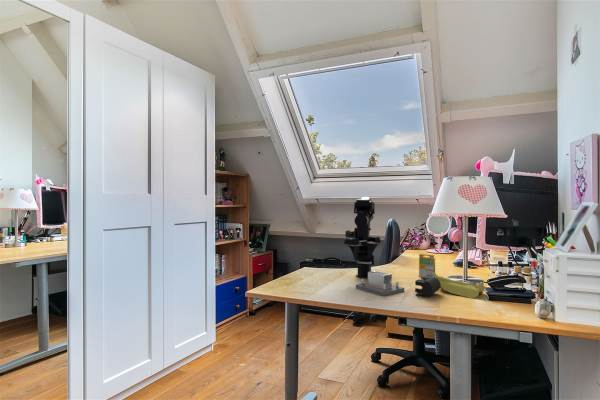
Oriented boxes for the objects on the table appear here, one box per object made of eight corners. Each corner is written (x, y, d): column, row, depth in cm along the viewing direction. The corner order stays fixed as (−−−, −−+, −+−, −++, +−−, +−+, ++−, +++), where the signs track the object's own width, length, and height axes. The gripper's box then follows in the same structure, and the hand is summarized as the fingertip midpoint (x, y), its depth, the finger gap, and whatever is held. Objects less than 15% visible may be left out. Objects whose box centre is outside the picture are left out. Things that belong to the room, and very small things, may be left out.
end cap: (431, 299, 144) (432, 282, 144) (414, 295, 149) (414, 279, 149) (440, 294, 152) (441, 277, 152) (424, 291, 156) (424, 275, 156)
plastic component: (485, 288, 154) (480, 281, 146) (481, 305, 151) (477, 299, 144) (438, 277, 166) (431, 270, 159) (434, 293, 164) (427, 287, 157)
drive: (375, 283, 163) (375, 270, 163) (391, 287, 156) (391, 273, 156) (367, 284, 160) (367, 271, 160) (383, 288, 153) (384, 275, 153)
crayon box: (435, 277, 183) (435, 254, 183) (433, 278, 180) (434, 255, 180) (420, 275, 187) (420, 253, 187) (418, 277, 184) (419, 254, 184)
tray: (375, 284, 168) (375, 275, 168) (404, 291, 155) (404, 282, 155) (355, 288, 160) (355, 279, 160) (384, 296, 148) (384, 286, 148)
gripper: (363, 223, 183) (363, 255, 183) (336, 225, 172) (336, 258, 172) (381, 225, 174) (380, 258, 175) (353, 227, 163) (353, 261, 163)
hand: (362, 258), depth 171 cm, fingers open, 9 cm apart
